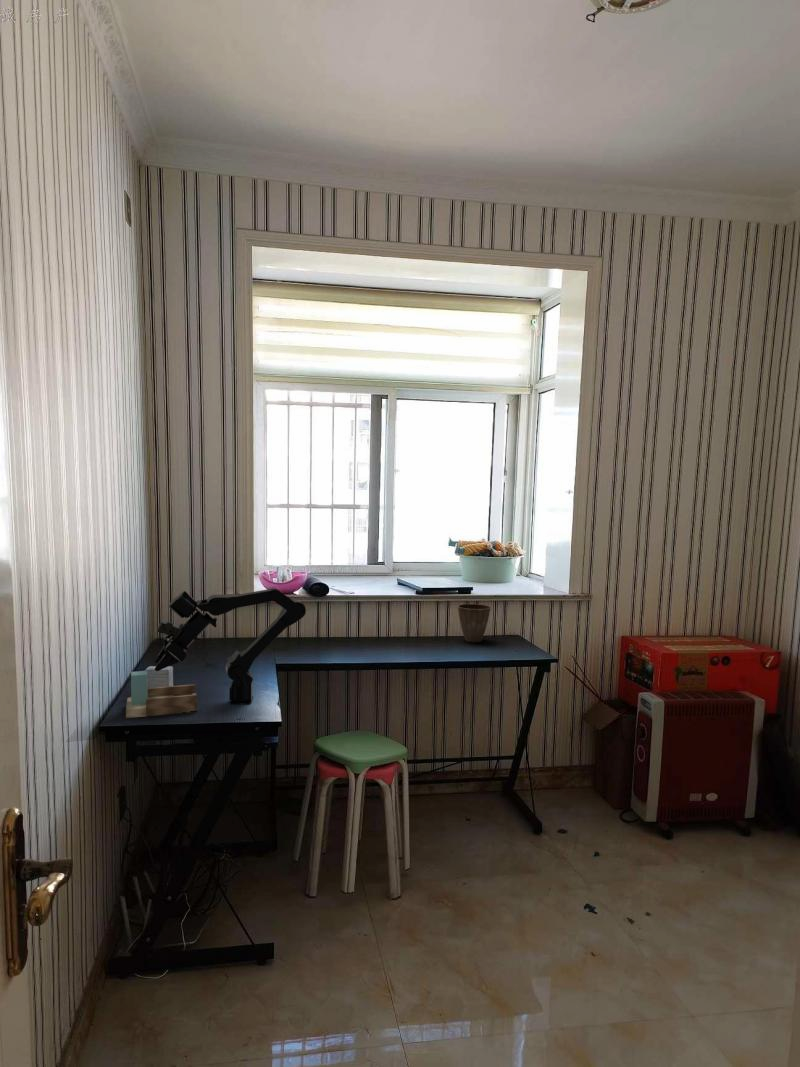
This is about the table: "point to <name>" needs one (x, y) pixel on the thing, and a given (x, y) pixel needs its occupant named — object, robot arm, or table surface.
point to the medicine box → (159, 677)
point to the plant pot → (473, 621)
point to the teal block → (138, 687)
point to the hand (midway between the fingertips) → (155, 666)
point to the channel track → (165, 701)
